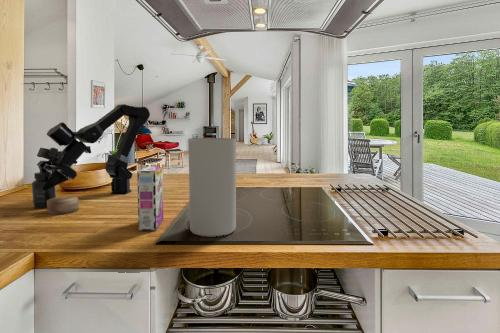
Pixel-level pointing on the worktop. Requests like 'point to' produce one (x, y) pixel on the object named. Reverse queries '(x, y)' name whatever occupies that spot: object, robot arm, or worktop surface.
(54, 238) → the worktop surface
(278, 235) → the worktop surface
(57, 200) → the walnut plinth
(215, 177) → the cylinder vase
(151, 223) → the candy bar box
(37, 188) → the supplement bottle
